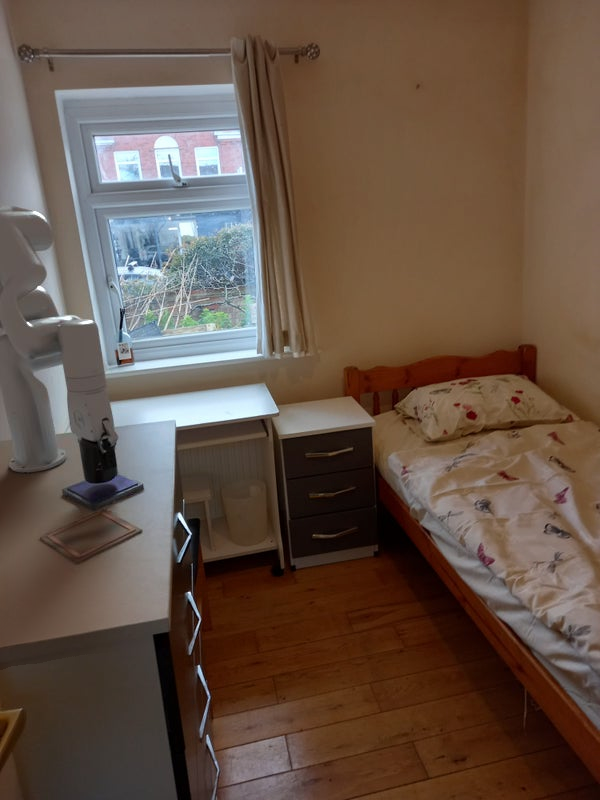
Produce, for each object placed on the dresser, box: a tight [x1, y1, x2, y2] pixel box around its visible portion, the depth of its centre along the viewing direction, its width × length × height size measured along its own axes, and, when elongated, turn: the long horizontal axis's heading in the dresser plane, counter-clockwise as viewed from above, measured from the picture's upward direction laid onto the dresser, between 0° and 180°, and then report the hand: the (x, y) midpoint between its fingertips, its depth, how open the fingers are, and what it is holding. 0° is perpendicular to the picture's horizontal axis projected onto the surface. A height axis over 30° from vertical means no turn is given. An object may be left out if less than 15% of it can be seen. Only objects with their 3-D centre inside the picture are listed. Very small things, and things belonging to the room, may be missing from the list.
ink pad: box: [61, 472, 145, 512], centre depth 120 cm, size 12×12×2 cm
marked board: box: [39, 508, 143, 565], centre depth 104 cm, size 13×13×1 cm
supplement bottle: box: [78, 433, 119, 484], centre depth 117 cm, size 7×7×12 cm
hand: (99, 463), depth 118 cm, fingers closed on supplement bottle, 6 cm apart
